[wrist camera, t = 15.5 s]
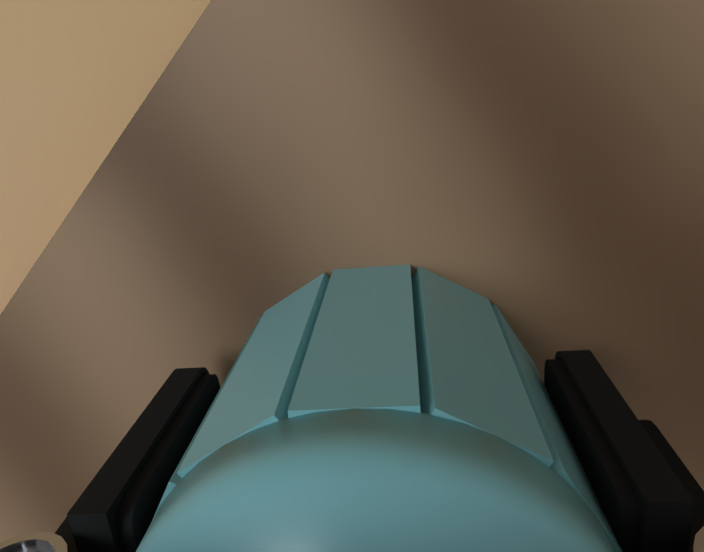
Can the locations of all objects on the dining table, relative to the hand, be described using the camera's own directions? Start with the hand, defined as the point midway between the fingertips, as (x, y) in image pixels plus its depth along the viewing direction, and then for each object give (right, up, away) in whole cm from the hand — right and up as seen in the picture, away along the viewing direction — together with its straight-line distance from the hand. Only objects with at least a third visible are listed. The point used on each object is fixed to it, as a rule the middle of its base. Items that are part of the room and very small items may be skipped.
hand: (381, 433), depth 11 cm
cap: (0, 0, +1) cm, 1 cm away
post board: (0, +1, +2) cm, 2 cm away
